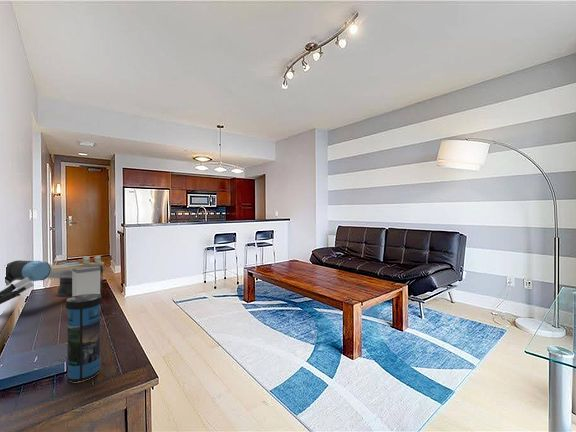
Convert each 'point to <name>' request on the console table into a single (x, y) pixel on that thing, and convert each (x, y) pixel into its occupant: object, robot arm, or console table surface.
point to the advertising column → (83, 336)
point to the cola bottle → (100, 279)
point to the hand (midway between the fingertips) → (30, 281)
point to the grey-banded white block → (86, 281)
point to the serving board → (85, 264)
